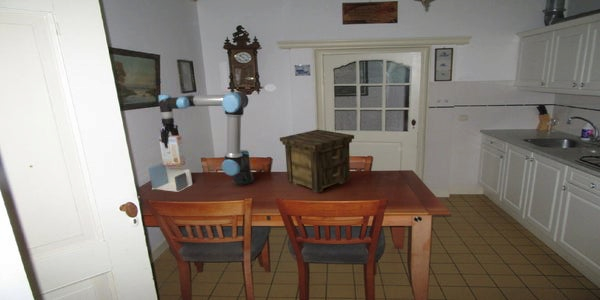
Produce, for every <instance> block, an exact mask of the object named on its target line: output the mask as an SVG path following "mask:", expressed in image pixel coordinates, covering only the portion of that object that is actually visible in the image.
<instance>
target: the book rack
mask: <svg viewBox="0 0 600 300" xmlns="http://www.w3.org/2000/svg"><path fill="white" fill-rule="evenodd" d="M148 173H149V177H150V178H149V179H150V184H151V187H152V188H151V190H162V191H166V192H167V191H169V192H180V191H183V190H185V189H186V188H189V187H190V186H193V180H192V179H193V178H192V172H191V169H185V168H175V167H174V168H173V167H166V166H164V165H163V162H162V163H158V164H156V165H153V166H150V167H148ZM183 173H186V177H187V184H188V187H186V188H184V189H182V190H180V191H177V189H176V183H175V177H176V176H178V175H180V174H183Z"/></svg>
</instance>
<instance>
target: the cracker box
mask: <svg viewBox="0 0 600 300" xmlns="http://www.w3.org/2000/svg"><path fill="white" fill-rule="evenodd" d="M158 140H159V145H160V152H161V159H162V163H163V165H164V166H165V167H180V168H181V167H182V166H185V165H186V160H185V159H186V158H185V152H184V146H183V139H182V135H179V136H172V135H169V136H168V143H169V147H170V152H166V148H165V144H164V143H162V142H161V136H159V137H158Z"/></svg>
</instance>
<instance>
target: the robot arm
mask: <svg viewBox="0 0 600 300" xmlns="http://www.w3.org/2000/svg"><path fill="white" fill-rule="evenodd" d="M248 104H249V97H248V95H247V94H246V93H245V92H242V91H234V92H229V93H227V94H205V95H204V94H203V95H202V94H201V95H199V94H198V95H197V94H196V95H194V94H191V95H185V96H178V97H176V96H175V97H173V96H171V95H170V94H169V93H168V94H165V93H164V94H159V95H158V106H159V112H160V117H161V124H162V127H159V131H160V137H161V142H162V143H164V144H165V148H166V152H170V147H169V143H168V136H170V135H169V134H171V136H180V135H179V129H178V127H179V126H178V125H177V124H175V118H174V113H173V110H174V109H175V110H184V109H188V108H190V107H222V108H223V110H224V114H225V116H226V117H227V119H226V121H227V123H226V128H227V129H226V152H225V153H224V161H222V164H221V169H222V171H223V173H225V174H226V175H227V176H231V177H232V176H233V177H232V184H234V185H237V186H238V185H239V186H241V185H242V186H244V185H248V184H251V183H253V182H254V181H255V179H254V178H255V177H254V176H253V173H252V171H251V162H250V160H251V159H250V153H249V150H247V149H241V136H242V135H241V134H242V133H241V131H242V129H241V128H242V116H244V112H245V111H244V109H246V108H247V106H248Z"/></svg>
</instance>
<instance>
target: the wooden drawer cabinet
mask: <svg viewBox="0 0 600 300" xmlns="http://www.w3.org/2000/svg"><path fill="white" fill-rule="evenodd" d="M353 140H355V134H347V133H342V132H337V131H330V130H325V129H324V130H322V129H314V130H309V131H304V132H300V133H296V134H291V135H287V136H283V137H279V141H280V142H281V143H282V144H281V145H284V149H285V150H284V152H285V163H286V165H285V167H286V178H287V181H288V182H292V184H293V185H296V186H298V185H301V186H305V187H307V188H309V189H311V190H312V192H314V193H317V194H319V193H321V192H323V191H324V189H325V188H327V187H330V186H334V185H335V184H339V185H341V184H344V183H346V181H349V180H350V179H351V177H350V176H351V171H350V170H351V169H350V168H351V167H350V161H351V159H350V155H351V154H350V143H352V142H353Z"/></svg>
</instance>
